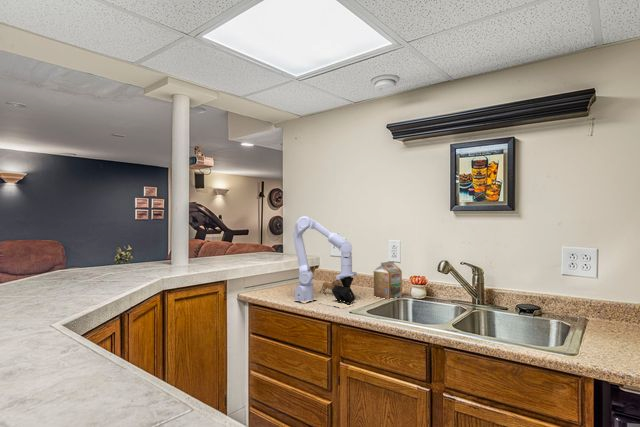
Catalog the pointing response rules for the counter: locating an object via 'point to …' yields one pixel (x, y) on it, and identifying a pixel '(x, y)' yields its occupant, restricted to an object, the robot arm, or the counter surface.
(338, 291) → the digital camera
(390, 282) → the milk carton
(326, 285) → the lion figurine
